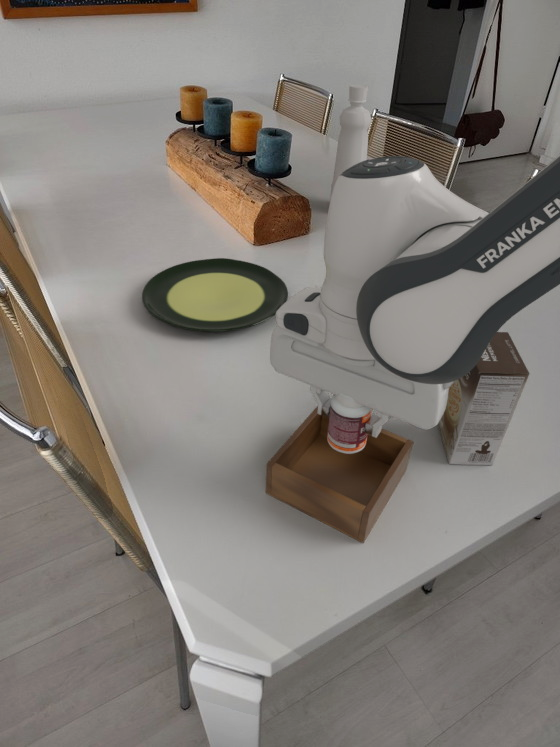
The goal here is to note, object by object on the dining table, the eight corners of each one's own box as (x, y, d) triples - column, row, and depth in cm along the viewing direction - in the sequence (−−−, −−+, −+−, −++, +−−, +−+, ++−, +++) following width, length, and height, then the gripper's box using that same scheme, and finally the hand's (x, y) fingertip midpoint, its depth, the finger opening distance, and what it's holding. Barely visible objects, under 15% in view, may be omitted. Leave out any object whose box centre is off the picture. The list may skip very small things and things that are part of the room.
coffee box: (433, 419, 81) (459, 328, 71) (476, 421, 81) (507, 330, 71) (448, 465, 73) (478, 371, 64) (495, 467, 73) (532, 373, 64)
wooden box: (406, 470, 73) (413, 441, 69) (363, 543, 63) (369, 514, 60) (317, 431, 78) (320, 402, 75) (265, 493, 69) (266, 463, 65)
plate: (150, 269, 116) (148, 258, 114) (280, 267, 119) (280, 256, 117) (135, 343, 94) (133, 331, 92) (295, 338, 97) (296, 327, 95)
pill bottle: (365, 457, 64) (374, 403, 58) (325, 452, 64) (330, 397, 59) (367, 430, 67) (375, 376, 62) (328, 425, 68) (334, 371, 63)
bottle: (369, 209, 148) (385, 86, 129) (351, 218, 142) (365, 91, 124) (340, 201, 152) (352, 81, 134) (322, 210, 146) (332, 85, 128)
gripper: (471, 339, 54) (442, 440, 62) (292, 284, 62) (289, 380, 70) (451, 371, 49) (423, 475, 58) (262, 307, 58) (262, 406, 66)
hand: (348, 422), depth 64 cm, fingers closed on pill bottle, 5 cm apart
